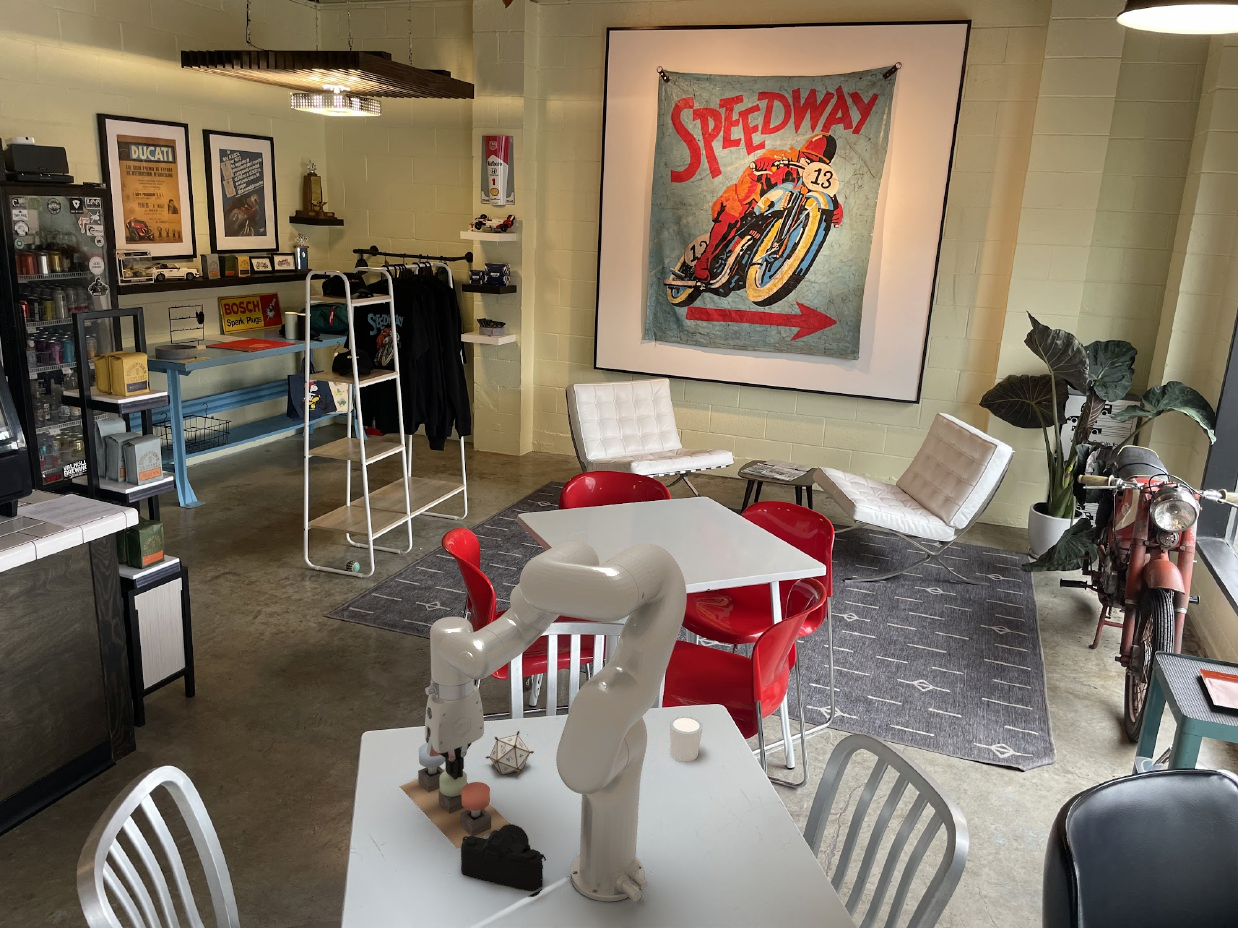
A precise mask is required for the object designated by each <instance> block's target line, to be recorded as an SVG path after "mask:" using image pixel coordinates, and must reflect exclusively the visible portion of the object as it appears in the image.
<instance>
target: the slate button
mask: <svg viewBox="0 0 1238 928" xmlns="http://www.w3.org/2000/svg"><path fill="white" fill-rule="evenodd" d="M427 746H428V743H426V742H425V743H423V744H421V746H419V748H418V762H419V763H418V764H419V765H420V766H421V767H424V768H426V767H427V768H428V773H429V774H435V773H436V772H437V767H438V766H440V767H441V766H442V765H444V763H445V757H443V756H441V755H439V756H433V757H430V756H429V755H428V754H427V753H426V751H427Z"/></svg>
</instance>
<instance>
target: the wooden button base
mask: <svg viewBox="0 0 1238 928" xmlns="http://www.w3.org/2000/svg"><path fill="white" fill-rule="evenodd" d="M444 771H446V769H445V768H442V767H441V765H440V766H438V767H437V772H436V773H435V774H429V773H428V768H427V767H424V768H421V769H419V770H417V776H418V778H417V779H414V780H412V781H409V782H407V783H405V784H402V785H399V788H400V789H401V791H403V792H404V793H405V794H406V795H407V797H409V798H410V799H411V800H412V801H413V803H414V804H415V805H417V807H418V808H419V809H420V810H421V811H422V812H423V813H424V815H426V816H427V818H428V819H429V820H430V821H431V822H432V823H433V824H434V825H435V826H436V827H437V829H439V830H440V831H441V833H442V834H444V835H445V836H446V838H447V839H448V840H449V841H450V842H451V843H452V844H453V845H454V846H455V847H456V849H458V848H459V849H460V848H461V845H462V842H463V837H465V836H475V837H479V838H483V837H485V836H489V835H490V834H491V832H492V831H494V830H499V829H501V828H502V827H503V826H504V825H508V824H511V822H510V821H508V819H506V818H505V817H504V816H503V815H502V814H501V813H500V812H499V811H498V810H497V809H496V808H494V807H493V806H492V805H491V804H490V803H489V805H488V806H487V807H486V808H484V809H482V810H480V816H479V817H472V816H471V810H467V809H465V808H464V807H463V806H462V794H461V795H458V796H455V797H452V798H450V797H449V796H446V795H443V794H442V793H441V792H440V775H441V774H442V773H443V772H444ZM467 784H469V782H467ZM465 839H466V838H465Z"/></svg>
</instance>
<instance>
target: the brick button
mask: <svg viewBox="0 0 1238 928" xmlns="http://www.w3.org/2000/svg"><path fill="white" fill-rule="evenodd" d="M490 803H491V788H490V786H489V785H488V784H487V783H484V782H481V781H473V782H468V784H467V785H465V786H464V787H463V788H462V806H463V807H464V808H465V809H467V810H471V816H472V817H479V816H480V810H482V809H484V808H486V807H487V806H488V805H489V804H490Z"/></svg>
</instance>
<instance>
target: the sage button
mask: <svg viewBox="0 0 1238 928" xmlns="http://www.w3.org/2000/svg"><path fill="white" fill-rule="evenodd" d="M467 783H468V774H467V773H466V771H464V770H463V777H461V778H460V777H458V779H456V780H454V779H453V778H452V777H451V776H450V775H448V774H447V773H446V771H444V772H443V773H442V774H441V775H440V792H441V793H442V794H443V795H446V796H449V797H450V798H452V797H455V796H458V795H461V794H462V788H463V787H464V786H465V785H467Z"/></svg>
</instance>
